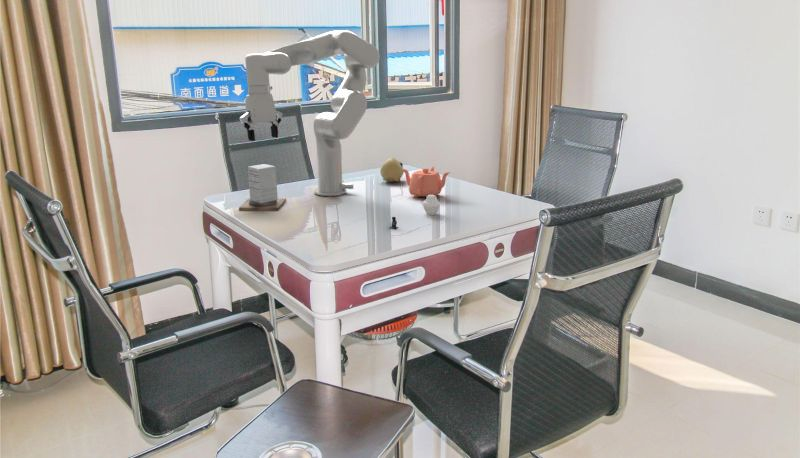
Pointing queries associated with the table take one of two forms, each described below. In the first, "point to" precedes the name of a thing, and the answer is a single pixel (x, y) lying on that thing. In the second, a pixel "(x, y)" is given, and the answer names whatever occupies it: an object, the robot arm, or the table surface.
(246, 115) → the robot arm
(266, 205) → the brown square board
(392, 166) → the pale yellow rounded lump
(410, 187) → the teapot
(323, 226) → the table surface
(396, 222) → the sculpture
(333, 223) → the table surface
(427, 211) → the muffin
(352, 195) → the table surface
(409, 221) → the table surface
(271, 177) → the supplement box
